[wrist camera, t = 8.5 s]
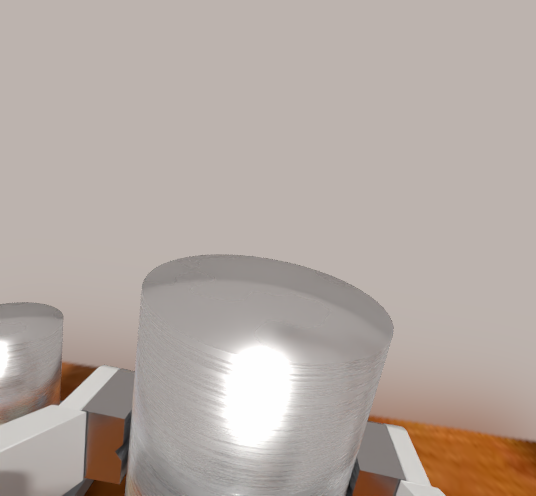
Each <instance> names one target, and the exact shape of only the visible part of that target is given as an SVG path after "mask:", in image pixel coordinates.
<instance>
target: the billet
mask: <svg viewBox="0 0 536 496" xmlns="http://www.w3.org/2000/svg"><path fill="white" fill-rule="evenodd" d="M62 337H63V314H62V312H61V311H60V310H58V309H57V308H55V307H52V306H49V305H45V304H39V303H28V302H26V303H25V302H22V303H7V304H0V425H2V424H5V423H7V422H10V421H12V420H15V419H17V418H20V417H22V416H25V415H27V414H30V413H32V412H35V411H37V410H40V409H43V408H45V407H48V406H50V405H57V406H59V405H60V392H61V366H62V340H63V338H62Z"/></svg>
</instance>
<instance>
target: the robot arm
mask: <svg viewBox="0 0 536 496" xmlns="http://www.w3.org/2000/svg"><path fill="white" fill-rule="evenodd" d="M134 378H135V371H131V370H127V369H120V368H117V367H113V366H108V365H102V366H100V367H98V368H97V369H96V370H95V371H94V372H93V373H92V374H91V375H90V376H89V377H88V378H87V379H86V380H85V381H84V382H83V383H81V384H80V385H79V386H78V387H77V388H76V389H75V390H74V391H73V392H72V393H71V394H70V395H69V396H68V397H67V398H66V399H65V400H64V401H63V402H62V403H61V404H60V405H59V406H57V405H50V406H48V407H45V408H43V409H40V410H37V411H35V412H32V413H30V414H27V415H25V416H22V417H20V418H17V419H15V420H12V421H10V422H7V423H5V424H2V425H0V496H62V495H64V494H65V493H66V492H68V491H69V490H70V489H72V488H73V487H75V486H76V485H77V484H79V483H80V482H81V481H83V478H88V479H93V480H99V481H104V482H109V483H114V484H120V483H121V481H122V479H123V478H124V476H125V474H126V472H127V462H128V450H129V438H130V426H131V414H132V402H133V390H134ZM345 496H446V495H445V494H444V493H443V492H442V491H441V490H440V489H438V488H435V487H432V486H431V484H430V482H429V480H428V477H427V475H426V473H425V471H424V469H423V466H422V464H421V462H420V460H419V458H418V455H417V453H416V451H415V449H414V447H413V444H412V442H411V440H410V438H409V435H408V433H407V431H406V430H405V429H404V428H403V427H400V426H395V425H389V424H384V423H383V424H381V423H376V422H371V421H367V424H366V427H365V431H364V434H363V437H362V441H361V444H360V448H359V451H358V454H357V458H356V461H355V464H354V468H353V471H352V475H351V478H350V481H349V485H348V488H347V491H346V495H345Z"/></svg>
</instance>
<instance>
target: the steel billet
mask: <svg viewBox="0 0 536 496" xmlns="http://www.w3.org/2000/svg"><path fill="white" fill-rule="evenodd" d="M392 336H393V324H392V320H391V318H390V317H389V315H388V313H387V312H386V311H385V310H384V308H383V307H382V306H381V305H379V303H378V302H376V301H375V300H374V299H373V298H371V297H370V296H369V295H367V294H366V293H364V292H363V291H361V290H359V289H358V288H356V287H354V286H352V285H350V284H348V283H346V282H344V281H342V280H340V279H337V278H335V277H333V276H330V275H328V274H325V273H322V272H319V271H316V270H313V269H310V268H307V267H303V266H300V265H296V264H291V263H288V262H283V261H278V260H273V259H267V258H260V257H253V256H243V255H200V256H192V257H186V258H181V259H177V260H173V261H170V262H167V263H165V264H162V265H160V266H158V267H156V268H155V269H153V270H152V271H151V272H150V273H149V274H148V275H147V276H146V278H145V279H144V282H143V284H142V294H141V306H140V318H139V330H138V342H137V354H136V366H135V378H134V390H133V402H132V414H131V426H130V438H129V450H128V462H127V474H126V486H125V496H345V495H346V491H347V488H348V485H349V481H350V478H351V475H352V471H353V468H354V464H355V461H356V458H357V454H358V451H359V448H360V444H361V441H362V437H363V434H364V431H365V427H366V424H367V421H368V417H369V414H370V410H371V407H372V403H373V400H374V397H375V393H376V390H377V387H378V383H379V380H380V377H381V373H382V370H383V366H384V363H385V359H386V356H387V353H388V349H389V346H390V343H391V339H392Z"/></svg>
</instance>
